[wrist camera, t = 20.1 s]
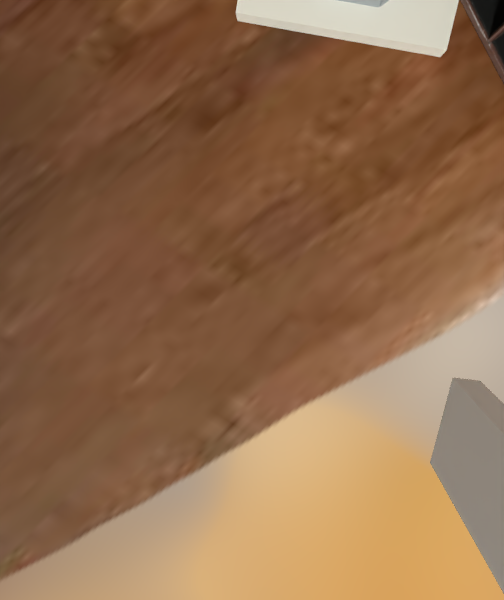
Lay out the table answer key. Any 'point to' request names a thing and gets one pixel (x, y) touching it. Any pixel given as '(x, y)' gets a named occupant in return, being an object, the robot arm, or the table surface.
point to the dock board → (361, 20)
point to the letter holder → (489, 28)
